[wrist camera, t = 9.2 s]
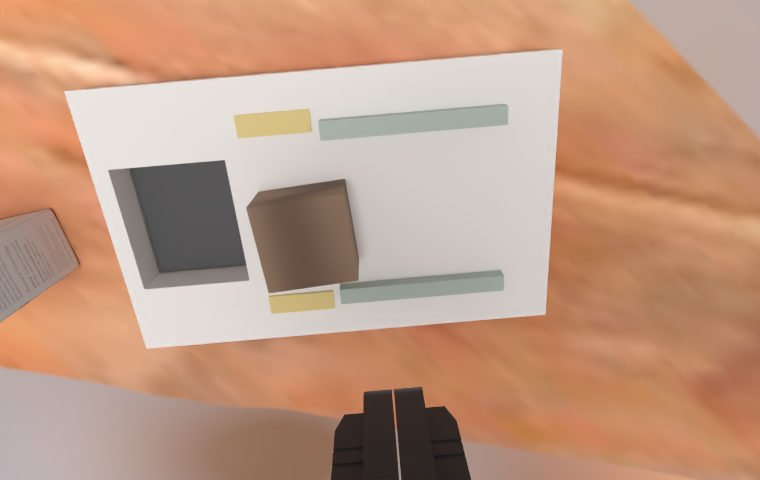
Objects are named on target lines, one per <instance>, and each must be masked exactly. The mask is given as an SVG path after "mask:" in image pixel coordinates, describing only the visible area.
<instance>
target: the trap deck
mask: <svg viewBox="0 0 760 480" xmlns="http://www.w3.org/2000/svg"><path fill="white" fill-rule="evenodd" d="M562 52H563V49H545V50H533V51H521V52H509V53H498V54H486V55H474V56H462V57H450V58H439V59H427V60H415V61H403V62H391V63H380V64H368V65H356V66H344V67H332V68H321V69H309V70H297V71H285V72H273V73H262V74H250V75H238V76H226V77H214V78H203V79H191V80H179V81H167V82H155V83H144V84H132V85H120V86H108V87H96V88H87V89H79V90H72V91H64V92H65V95H66V99H67V102H68V105H69V108H70V111H71V114H72V117H73V120H74V124H75V127H76V130H77V133H78V136H79V139H80V142H81V145H82V149H83V152H84V155H85V158H86V161H87V164H88V167H89V170H90V174H91V177H92V180H93V183H94V186H95V189H96V192H97V195H98V199H99V202H100V205H101V208H102V211H103V214H104V217H105V220H106V224H107V227H108V230H109V233H110V236H111V239H112V242H113V245H114V248H115V252H116V255H117V258H118V261H119V264H120V267H121V270H122V273H123V277H124V280H125V283H126V286H127V289H128V292H129V295H130V298H131V302H132V305H133V308H134V311H135V314H136V317H137V320H138V323H139V327H140V330H141V333H142V336H143V339H144V342H145V345H146V348H147V349H148V348H160V347H172V346H183V345H195V344H207V343H218V342H230V341H242V340H254V339H265V338H277V337H289V336H301V335H312V334H324V333H336V332H347V331H359V330H371V329H383V328H394V327H406V326H418V325H430V324H441V323H453V322H465V321H477V320H488V319H500V318H512V317H523V316H535V315H545V314H546V299H547V283H548V268H549V252H550V237H551V222H552V206H553V191H554V175H555V160H556V144H557V129H558V114H559V98H560V83H561V67H562ZM340 179H345V181H346V187H347V193H348V198H349V204H350V210H351V215H352V221H353V227H354V233H355V238H356V244H357V250H358V255H359V280H358V281H353V282H346V283H339V284H332V285H325V286H318V287H311V288H304V289H297V290H290V291H283V292H276V293H268V289H267V285H266V281H265V277H264V274H263V270H262V266H261V262H260V259H259V255H258V251H257V247H256V243H255V240H254V236H253V232H252V228H251V225H250V221H249V217H248V213H247V209H246V207H247V206H248V205H249V203H250V202H251V201H252V199H253V198H254V197H255V195H256V194H257V193H258V192H259V191H266V190H272V189H279V188H286V187H293V186H299V185H306V184H313V183H320V182H327V181H333V180H340Z"/></svg>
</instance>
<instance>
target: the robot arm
mask: <svg viewBox="0 0 760 480" xmlns="http://www.w3.org/2000/svg"><path fill="white" fill-rule="evenodd" d="M394 395H395V407H396V419H397V431H398V443H399V455H400V467H401V479H402V480H471V478H470V474H469V470H468V466H467V462H466V457H465V454H464V450H463V445H462V442H461V437H460V433H459V429H458V425H457V421H456V420H455V418H454V417H453V416H452V415H451V414H450V412H449V411H448V410H447V409H446V408H445V406H443V407H431V408H425V403H424V397H423V391H422V387H415V388H403V389H394ZM395 437H396V436H395V424H394V413H393V401H392V390H380V391H368V392H364V413H359V414H347V415H344V416H343V418H342V420H341V422H340V423H339V425H338V427H337V428H336V430H335V438H334V453H333V463H332V467H333V468H332V474H331V480H399V474H398V461H397V449H396V438H395Z"/></svg>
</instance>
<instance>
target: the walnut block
mask: <svg viewBox="0 0 760 480" xmlns="http://www.w3.org/2000/svg"><path fill="white" fill-rule="evenodd" d="M246 209H247V213H248V217H249V221H250V225H251V228H252V232H253V236H254V240H255V243H256V247H257V251H258V255H259V259H260V262H261V266H262V270H263V274H264V277H265V281H266V285H267V289H268V293H276V292H283V291H290V290H297V289H304V288H311V287H318V286H325V285H332V284H339V283H346V282H353V281H358V280H359V255H358V250H357V244H356V238H355V233H354V227H353V221H352V215H351V210H350V204H349V198H348V193H347V187H346V181H345V179H340V180H333V181H327V182H320V183H313V184H306V185H299V186H293V187H286V188H279V189H272V190H266V191H259V192H258V193H257V194H256V195H255V197H254V198H253V199H252V201H251V202H250V203H249V205H248V206H247V207H246Z"/></svg>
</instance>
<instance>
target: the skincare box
mask: <svg viewBox="0 0 760 480" xmlns="http://www.w3.org/2000/svg"><path fill="white" fill-rule="evenodd" d="M78 264H79V263H78V261H77V258H76V257H75V254H74V252H73V250H72V248H71V245H70V244H69V241H68V240H67V238H66V236H65V234H64V232H63V230H62V228H61V226H60V224H59V222H58V220H57V219H56V217H55V215H54V213H53V212H52V210H50V209H45V210H41V211H37V212H32V213H28V214H23V215H19V216H15V217H10V218H6V219H1V220H0V322H2V321H3V320H4V319H6V318H7V317H9V316H10V315H12V314H13V313H14V312H16V311H17V310H19V309H20V308H22V307H23V306H24V305H26V304H27V303H28V302H30V301H31V300H32V299H34V298H35V297H37V296H38V295H40V294H41V293H42V292H44V291H45V290H47V289H48V288H50V287H51V286H52V285H54V284H55V283H57V282H58V281H59V280H61V279H62V278H63V277H65V276H66V275H68V274H69V273H70V272H72V271H73V270H75V269H76V268H77V267H78V266H79V265H78Z"/></svg>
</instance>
